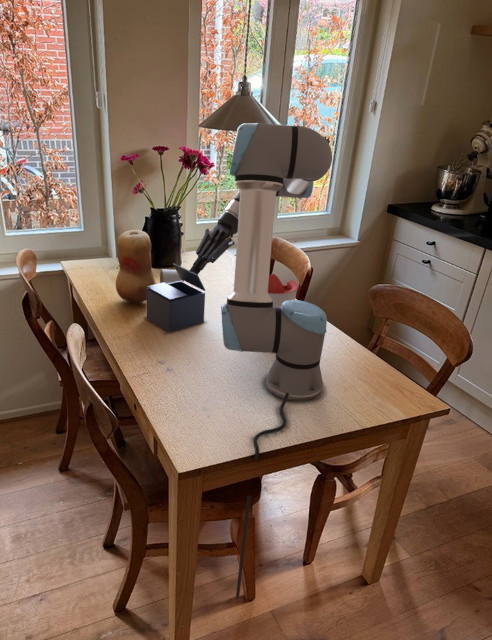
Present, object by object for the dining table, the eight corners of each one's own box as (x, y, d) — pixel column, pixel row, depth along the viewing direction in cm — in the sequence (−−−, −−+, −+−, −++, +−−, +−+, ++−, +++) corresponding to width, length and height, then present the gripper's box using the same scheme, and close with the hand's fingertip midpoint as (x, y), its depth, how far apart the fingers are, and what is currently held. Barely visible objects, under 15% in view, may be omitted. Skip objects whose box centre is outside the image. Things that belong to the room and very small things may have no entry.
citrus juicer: (301, 330, 176) (310, 271, 166) (276, 348, 163) (284, 287, 153) (260, 317, 183) (266, 260, 173) (233, 334, 170) (238, 274, 160)
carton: (180, 309, 185) (181, 278, 179) (203, 322, 176) (205, 290, 171) (146, 318, 177) (146, 286, 171) (169, 332, 168) (169, 299, 163)
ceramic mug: (184, 292, 199) (184, 272, 195) (162, 293, 196) (162, 273, 193) (178, 282, 207) (178, 263, 204) (157, 283, 205) (157, 264, 202)
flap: (180, 279, 179) (181, 278, 179) (204, 291, 171) (205, 290, 171) (172, 263, 174) (173, 263, 174) (196, 275, 166) (197, 274, 166)
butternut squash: (110, 306, 183) (107, 234, 171) (123, 292, 195) (121, 224, 182) (149, 311, 182) (149, 239, 169) (160, 297, 193) (160, 228, 180)
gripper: (252, 230, 173) (209, 288, 172) (226, 220, 181) (185, 276, 180) (241, 215, 167) (197, 275, 166) (214, 206, 176) (172, 263, 174)
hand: (191, 276), depth 173 cm, fingers closed
